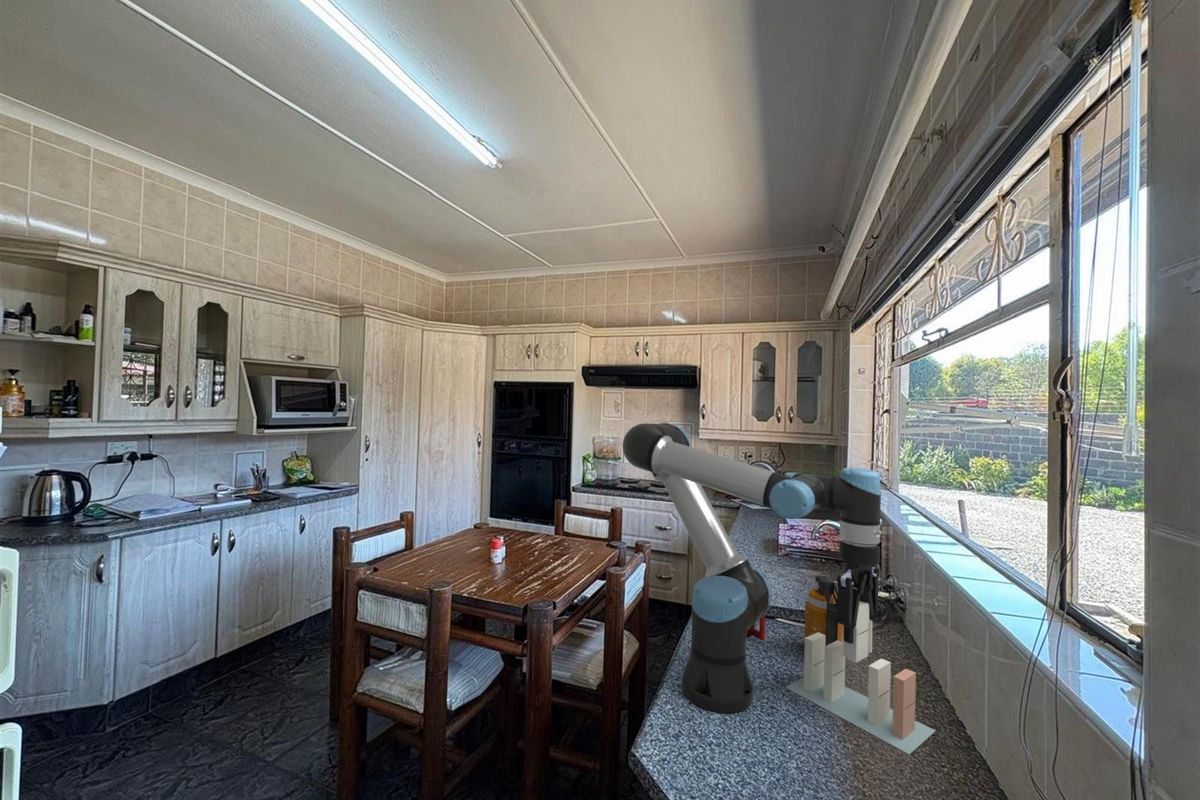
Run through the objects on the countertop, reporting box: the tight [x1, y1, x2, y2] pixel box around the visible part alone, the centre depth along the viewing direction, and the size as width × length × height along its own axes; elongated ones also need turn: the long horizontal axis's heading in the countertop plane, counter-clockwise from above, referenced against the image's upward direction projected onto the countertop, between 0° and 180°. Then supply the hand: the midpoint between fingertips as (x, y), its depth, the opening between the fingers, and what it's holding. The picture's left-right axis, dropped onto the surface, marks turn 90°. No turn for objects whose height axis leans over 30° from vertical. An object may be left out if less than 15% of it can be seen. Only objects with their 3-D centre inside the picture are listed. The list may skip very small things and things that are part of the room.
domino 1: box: [803, 632, 825, 692], centre depth 108 cm, size 2×5×11 cm, turn 126°
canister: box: [803, 575, 843, 652], centre depth 121 cm, size 9×11×20 cm
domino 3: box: [846, 601, 870, 664], centre depth 101 cm, size 2×5×11 cm, turn 126°
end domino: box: [892, 668, 917, 740], centre depth 93 cm, size 2×5×11 cm, turn 126°
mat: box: [785, 677, 937, 755], centre depth 100 cm, size 25×12×1 cm, turn 36°
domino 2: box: [823, 640, 846, 702], centre depth 104 cm, size 2×5×11 cm, turn 126°
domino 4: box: [867, 658, 892, 726], centre depth 97 cm, size 2×5×11 cm, turn 126°
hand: (857, 653), depth 101 cm, fingers closed on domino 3, 5 cm apart
